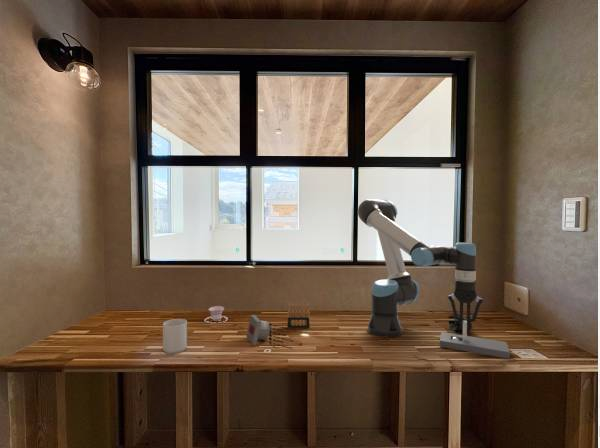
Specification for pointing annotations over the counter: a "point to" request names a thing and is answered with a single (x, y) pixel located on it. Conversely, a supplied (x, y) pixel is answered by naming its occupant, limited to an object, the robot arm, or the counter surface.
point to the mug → (174, 336)
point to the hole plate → (475, 345)
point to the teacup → (216, 314)
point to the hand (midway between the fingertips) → (464, 337)
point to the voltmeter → (262, 331)
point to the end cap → (457, 324)
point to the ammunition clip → (294, 317)
